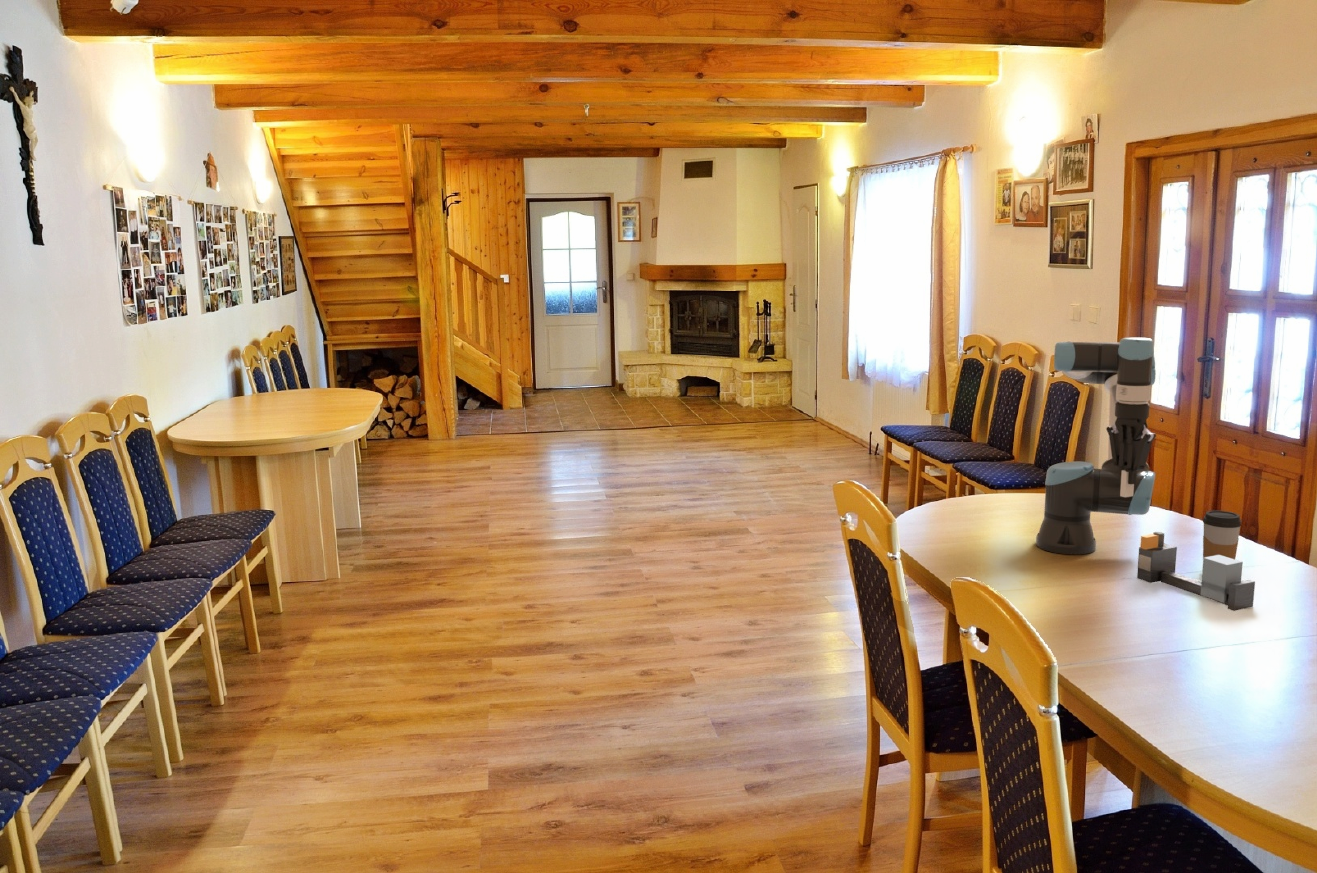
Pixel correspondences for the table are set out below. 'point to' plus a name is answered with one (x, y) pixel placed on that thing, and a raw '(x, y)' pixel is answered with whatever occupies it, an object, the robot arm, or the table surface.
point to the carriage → (1219, 576)
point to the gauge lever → (1152, 540)
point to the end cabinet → (1156, 562)
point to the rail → (1184, 583)
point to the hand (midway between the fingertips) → (1126, 496)
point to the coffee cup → (1221, 533)
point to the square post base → (1241, 595)
